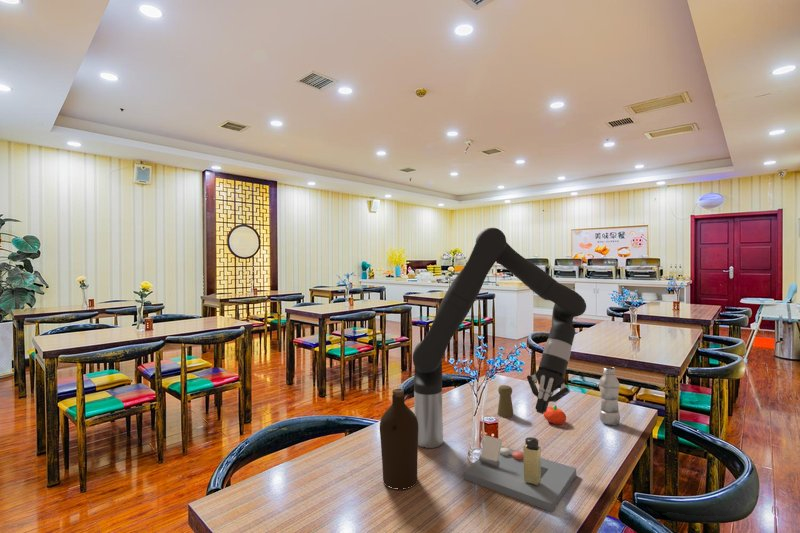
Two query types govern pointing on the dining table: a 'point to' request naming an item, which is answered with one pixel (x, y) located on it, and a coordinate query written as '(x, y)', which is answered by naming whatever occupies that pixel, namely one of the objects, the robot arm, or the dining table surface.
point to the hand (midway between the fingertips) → (539, 413)
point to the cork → (505, 401)
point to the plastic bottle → (609, 397)
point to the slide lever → (532, 461)
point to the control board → (512, 479)
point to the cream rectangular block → (491, 451)
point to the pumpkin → (555, 415)
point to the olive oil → (399, 443)
